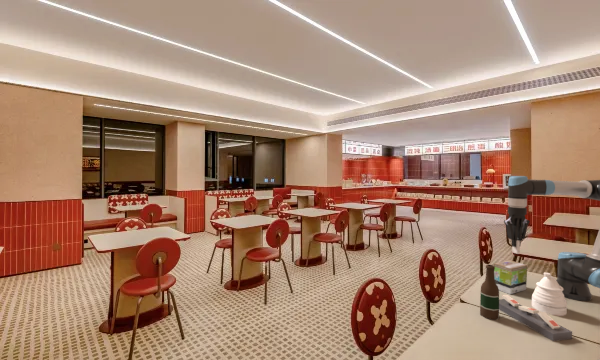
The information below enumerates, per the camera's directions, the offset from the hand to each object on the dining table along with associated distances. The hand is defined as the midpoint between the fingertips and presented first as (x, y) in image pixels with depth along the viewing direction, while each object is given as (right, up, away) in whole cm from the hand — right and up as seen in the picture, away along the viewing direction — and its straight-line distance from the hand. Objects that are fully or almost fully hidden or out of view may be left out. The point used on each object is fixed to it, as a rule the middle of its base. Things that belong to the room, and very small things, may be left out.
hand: (515, 252), depth 141 cm
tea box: (+11, -26, +19) cm, 34 cm away
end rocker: (-4, -22, -24) cm, 33 cm away
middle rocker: (-6, -22, -15) cm, 27 cm away
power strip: (-6, -27, -14) cm, 31 cm away
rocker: (-7, -22, -6) cm, 23 cm away
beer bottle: (-20, -27, -10) cm, 35 cm away
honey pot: (+13, -27, -4) cm, 30 cm away
